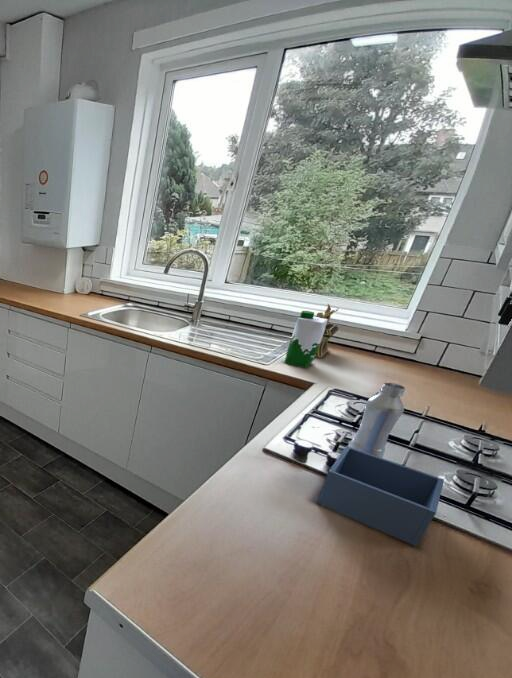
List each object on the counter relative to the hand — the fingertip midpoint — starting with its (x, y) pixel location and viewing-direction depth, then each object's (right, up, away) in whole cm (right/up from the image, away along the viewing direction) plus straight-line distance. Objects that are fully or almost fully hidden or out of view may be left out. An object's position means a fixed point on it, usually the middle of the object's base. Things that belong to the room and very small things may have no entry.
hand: (509, 321), depth 83 cm
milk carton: (+13, -5, +77) cm, 78 cm away
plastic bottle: (-15, -32, +17) cm, 39 cm away
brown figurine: (+30, +1, +90) cm, 95 cm away
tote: (-27, -38, +2) cm, 47 cm away
